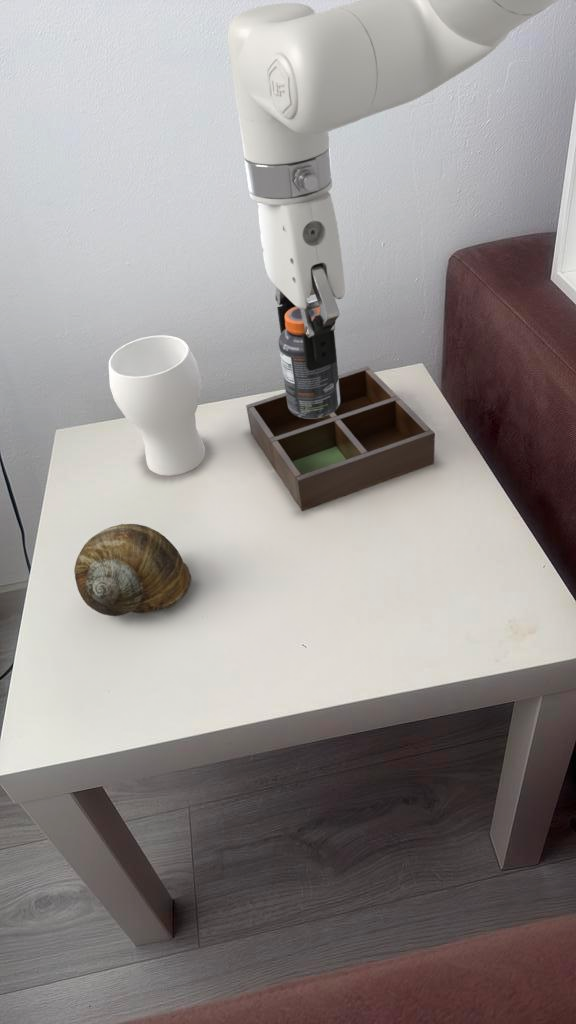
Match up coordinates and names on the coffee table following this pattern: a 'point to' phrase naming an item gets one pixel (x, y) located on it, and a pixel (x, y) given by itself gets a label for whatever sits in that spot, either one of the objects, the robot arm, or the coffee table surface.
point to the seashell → (130, 571)
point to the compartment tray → (342, 441)
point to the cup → (160, 400)
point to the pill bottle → (306, 373)
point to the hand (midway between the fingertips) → (308, 349)
